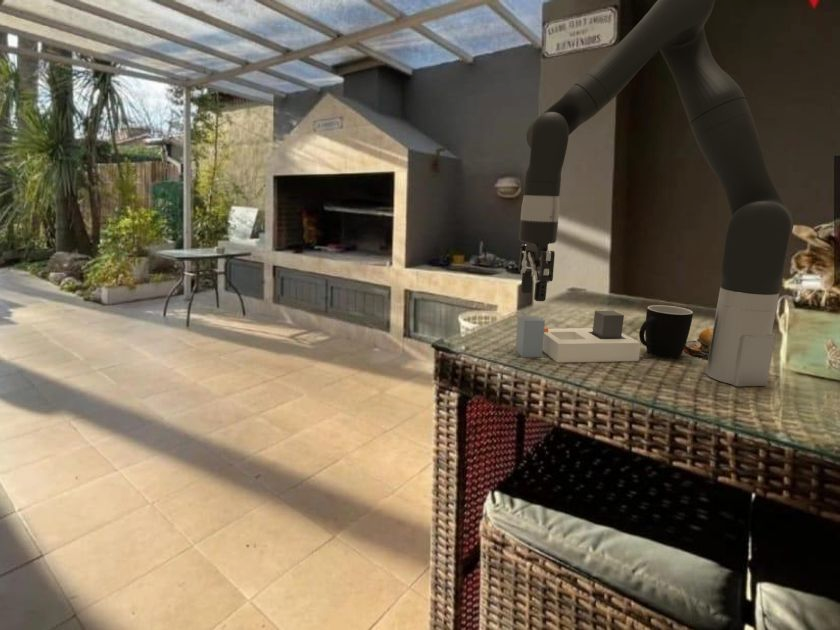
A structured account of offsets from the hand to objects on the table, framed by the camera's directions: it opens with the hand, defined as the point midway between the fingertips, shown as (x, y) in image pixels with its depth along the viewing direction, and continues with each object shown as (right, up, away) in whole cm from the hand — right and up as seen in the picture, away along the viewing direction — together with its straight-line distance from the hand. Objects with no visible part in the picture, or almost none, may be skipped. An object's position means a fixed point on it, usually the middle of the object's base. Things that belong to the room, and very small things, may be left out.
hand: (532, 296), depth 105 cm
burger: (+42, -13, +6) cm, 44 cm away
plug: (0, -12, +3) cm, 13 cm away
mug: (+29, -13, +4) cm, 32 cm away
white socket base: (+13, -12, +4) cm, 18 cm away
